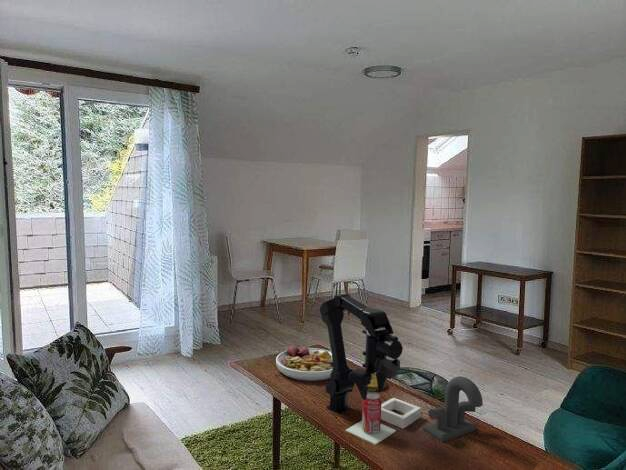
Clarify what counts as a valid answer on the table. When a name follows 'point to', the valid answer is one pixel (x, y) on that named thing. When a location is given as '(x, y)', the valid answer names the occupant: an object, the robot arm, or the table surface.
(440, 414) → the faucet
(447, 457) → the table surface
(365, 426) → the beverage can
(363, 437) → the mat
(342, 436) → the table surface
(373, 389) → the gold flat disc
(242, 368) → the table surface
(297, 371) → the bowl
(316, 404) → the table surface
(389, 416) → the collar
